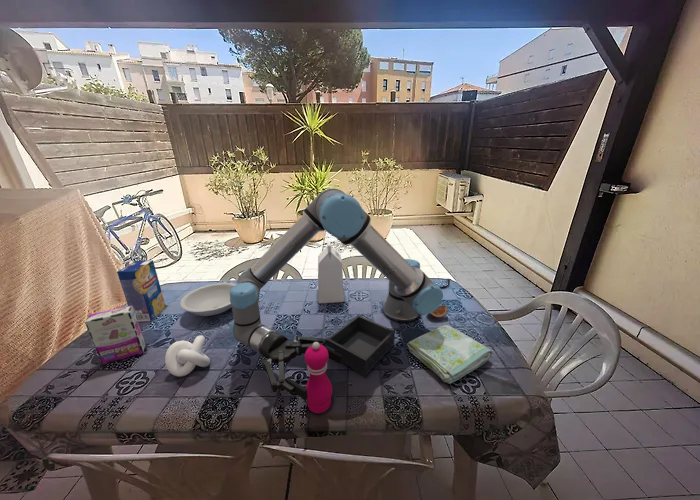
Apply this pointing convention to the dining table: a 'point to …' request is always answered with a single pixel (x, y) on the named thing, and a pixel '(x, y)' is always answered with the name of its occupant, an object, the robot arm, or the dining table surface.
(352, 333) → the open box
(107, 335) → the candy bar box
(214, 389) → the dining table surface
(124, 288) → the blue cracker box
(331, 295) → the milk
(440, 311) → the fruit slice
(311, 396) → the pepper mill
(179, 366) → the white knot sculpture
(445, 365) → the towel
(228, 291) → the soup bowl
